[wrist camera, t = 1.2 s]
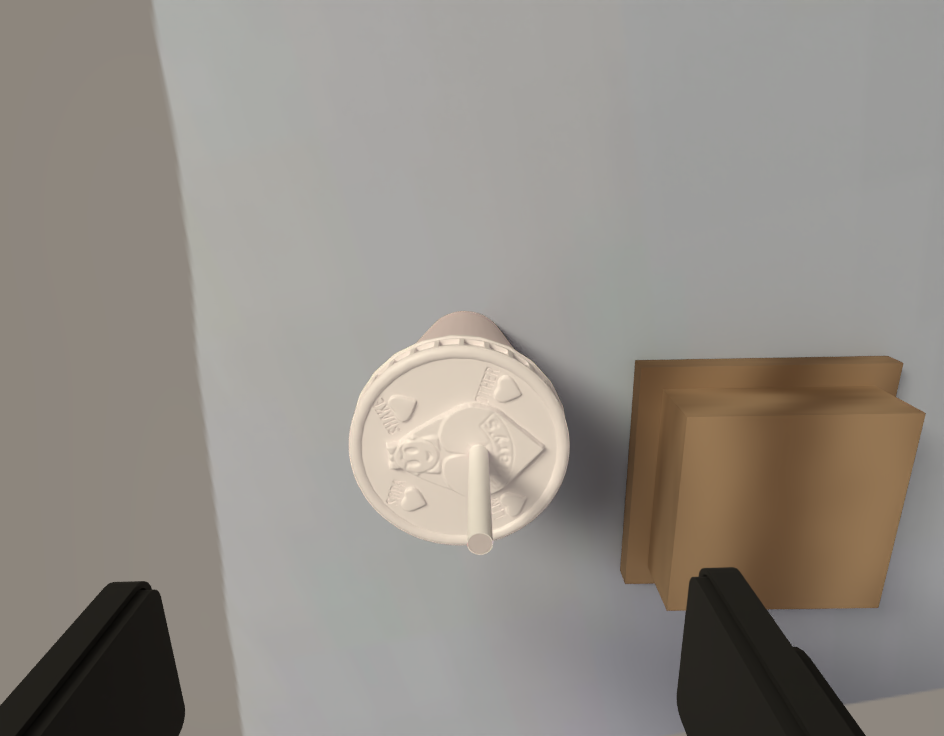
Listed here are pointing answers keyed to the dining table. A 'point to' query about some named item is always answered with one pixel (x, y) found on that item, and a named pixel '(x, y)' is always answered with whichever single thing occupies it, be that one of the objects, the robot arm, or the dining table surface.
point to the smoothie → (459, 436)
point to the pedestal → (768, 476)
